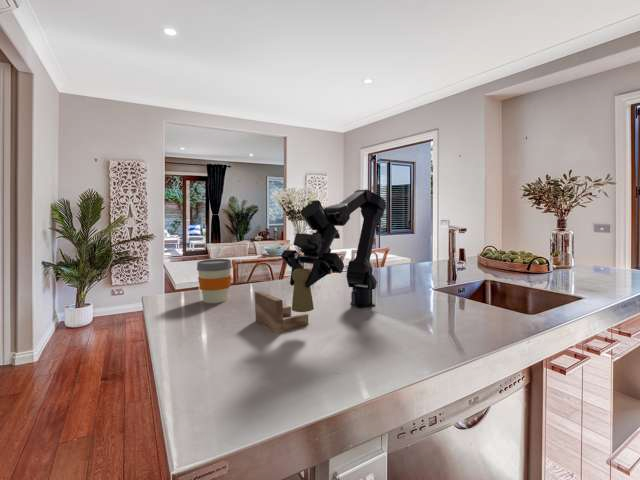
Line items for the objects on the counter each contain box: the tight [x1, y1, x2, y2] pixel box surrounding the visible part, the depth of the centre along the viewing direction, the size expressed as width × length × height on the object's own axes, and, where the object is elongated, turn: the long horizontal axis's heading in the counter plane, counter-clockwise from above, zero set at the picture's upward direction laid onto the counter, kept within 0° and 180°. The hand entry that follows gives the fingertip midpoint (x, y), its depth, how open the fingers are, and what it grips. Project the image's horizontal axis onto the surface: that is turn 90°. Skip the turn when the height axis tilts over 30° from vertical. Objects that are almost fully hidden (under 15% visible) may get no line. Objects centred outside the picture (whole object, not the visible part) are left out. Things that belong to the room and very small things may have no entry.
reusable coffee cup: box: [196, 258, 232, 304], centre depth 129 cm, size 12×13×15 cm
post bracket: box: [254, 290, 309, 334], centre depth 101 cm, size 11×14×9 cm
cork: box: [291, 267, 315, 313], centre depth 92 cm, size 6×6×11 cm
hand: (298, 285), depth 91 cm, fingers closed on cork, 5 cm apart
